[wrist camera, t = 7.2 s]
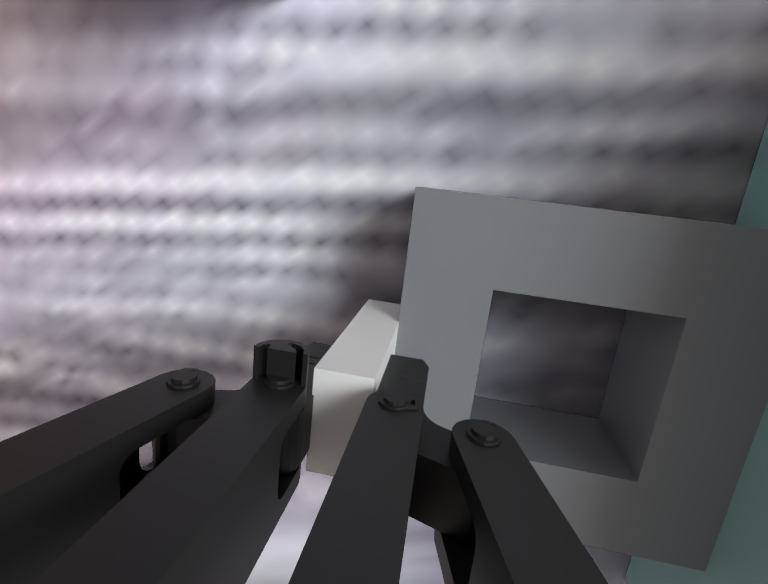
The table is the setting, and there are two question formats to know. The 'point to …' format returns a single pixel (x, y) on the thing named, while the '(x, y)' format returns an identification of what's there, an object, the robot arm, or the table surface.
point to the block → (631, 363)
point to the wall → (758, 477)
